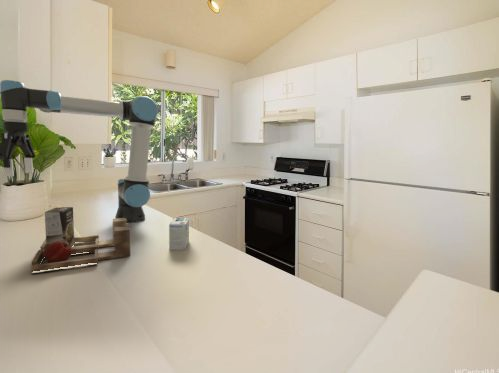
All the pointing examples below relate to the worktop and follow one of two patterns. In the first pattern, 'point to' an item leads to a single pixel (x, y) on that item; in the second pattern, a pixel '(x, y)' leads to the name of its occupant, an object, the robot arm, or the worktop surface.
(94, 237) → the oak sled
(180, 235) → the light bulb box
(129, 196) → the robot arm
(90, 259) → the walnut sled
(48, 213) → the coffee box
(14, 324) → the worktop surface
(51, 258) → the apple
